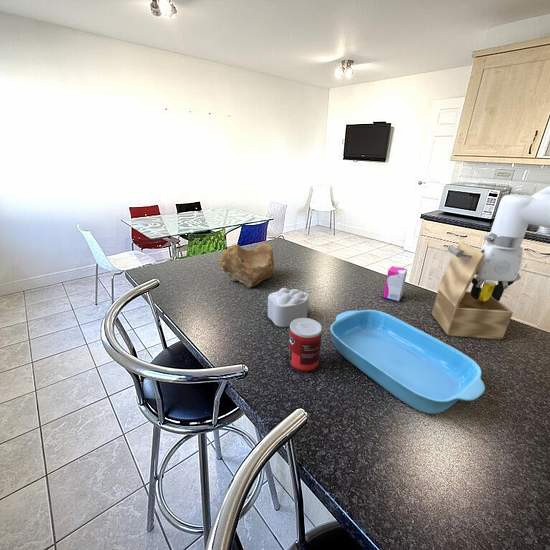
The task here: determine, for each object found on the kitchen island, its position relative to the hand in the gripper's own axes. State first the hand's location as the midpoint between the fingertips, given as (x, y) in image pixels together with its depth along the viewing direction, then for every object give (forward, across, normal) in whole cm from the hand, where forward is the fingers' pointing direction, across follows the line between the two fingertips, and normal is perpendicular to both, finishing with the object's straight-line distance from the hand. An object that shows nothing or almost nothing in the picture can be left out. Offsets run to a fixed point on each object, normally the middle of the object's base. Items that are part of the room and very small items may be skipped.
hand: (484, 297), depth 89 cm
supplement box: (+11, -21, +17) cm, 29 cm away
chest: (+10, -3, 0) cm, 11 cm away
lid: (-7, -9, 0) cm, 12 cm away
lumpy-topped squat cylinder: (+11, -59, -2) cm, 60 cm away
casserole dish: (+11, -31, -23) cm, 40 cm away
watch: (+1, 0, 0) cm, 1 cm away
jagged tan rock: (+11, -76, +23) cm, 80 cm away
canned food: (+11, -54, -24) cm, 60 cm away
